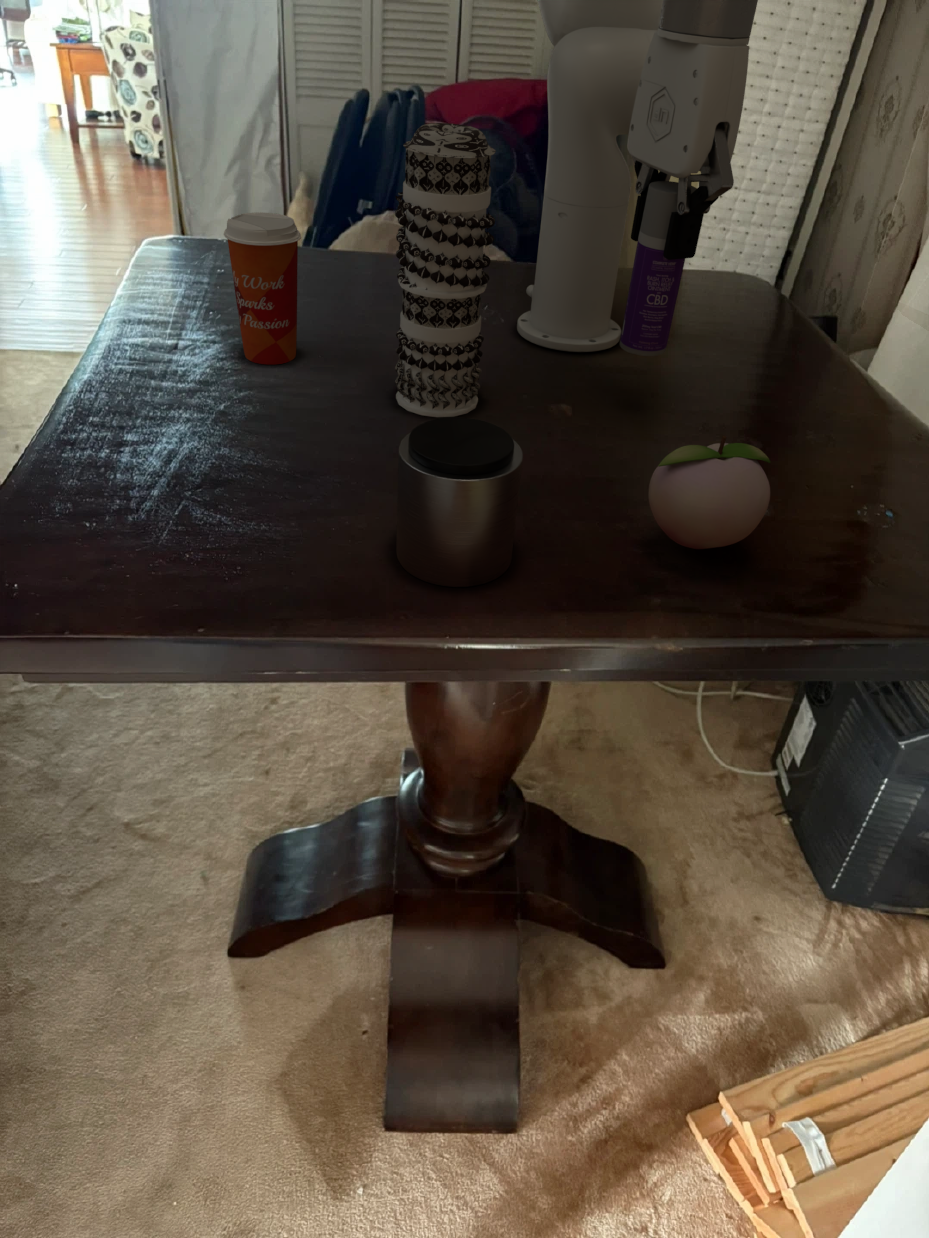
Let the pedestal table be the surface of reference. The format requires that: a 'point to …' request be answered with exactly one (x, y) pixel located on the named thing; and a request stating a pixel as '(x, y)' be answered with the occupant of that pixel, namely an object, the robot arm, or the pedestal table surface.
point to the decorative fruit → (710, 494)
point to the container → (653, 277)
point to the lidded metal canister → (457, 501)
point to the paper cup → (265, 284)
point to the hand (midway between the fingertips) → (662, 246)
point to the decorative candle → (442, 268)
